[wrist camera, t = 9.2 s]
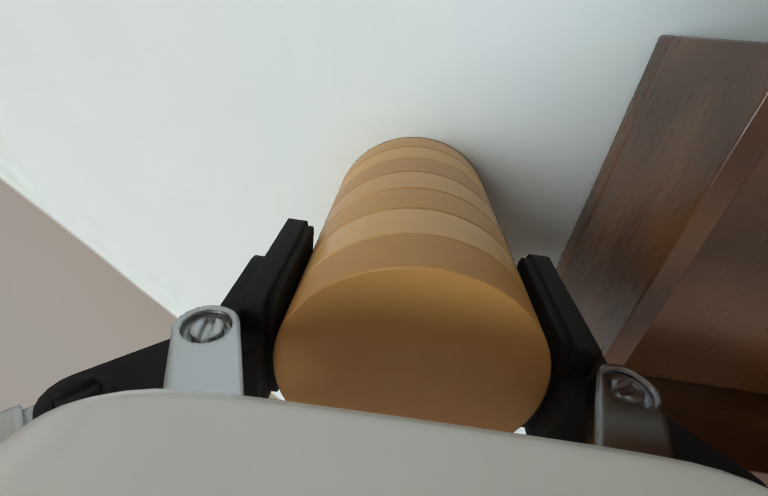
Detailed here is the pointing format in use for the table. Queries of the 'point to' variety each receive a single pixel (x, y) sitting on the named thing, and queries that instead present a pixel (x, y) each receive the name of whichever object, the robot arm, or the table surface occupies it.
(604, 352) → the chest
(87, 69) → the table surface
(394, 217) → the cookie stack
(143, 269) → the table surface
